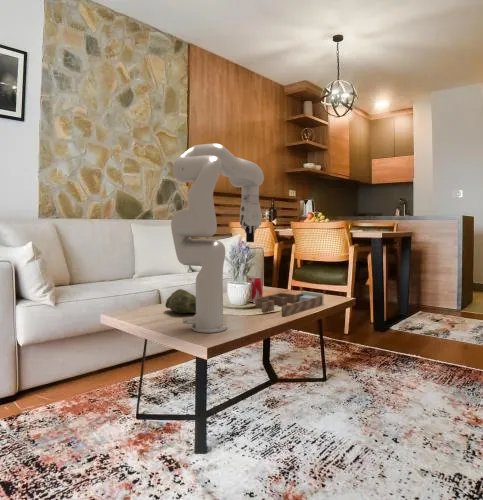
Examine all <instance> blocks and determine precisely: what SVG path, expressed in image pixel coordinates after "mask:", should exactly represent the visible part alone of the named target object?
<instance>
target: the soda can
mask: <svg viewBox="0 0 483 500" xmlns="http://www.w3.org/2000/svg"><path fill="white" fill-rule="evenodd" d="M248 282H250V283H251V289H250V296H249V299H250V301H252V302H255V298H260V297H264V296H263V293H264V292H263V291H264V289H263V288H264V287H263V286H264V284H263V283H264V282H263V280H262V277H261V276H260V275H259V276H257V275H255V276H254V275H252V276H251V275H250V276H248V279H247V283H248Z"/></svg>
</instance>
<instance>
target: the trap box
mask: <svg viewBox="0 0 483 500" xmlns="http://www.w3.org/2000/svg"><path fill="white" fill-rule="evenodd" d="M301 296H303V294H302V293H301V292H300V293H297V294H295V293H293V294H292V293H285V292H278V293H274V294H270V295H269V294H268V295H265V296H263V297H260V298H255V303H254V305H255V306H254V307H255V308H256V309H261V313H262V312H263V314H264V313H265V314H266V313H269V312H271V311H272V310H273V311H274V310H275V305H278V306H277V307H280V308H281V317H287V316H291V315H294V314H297V312H298V313H300V311H301V312H304V311H307V310H311V309H314V308H316V307H320V306H323V305H322V296H318V297H314V298H311V299H307V300H303V301H300V302H299V297H301ZM268 311H269V312H268Z"/></svg>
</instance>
